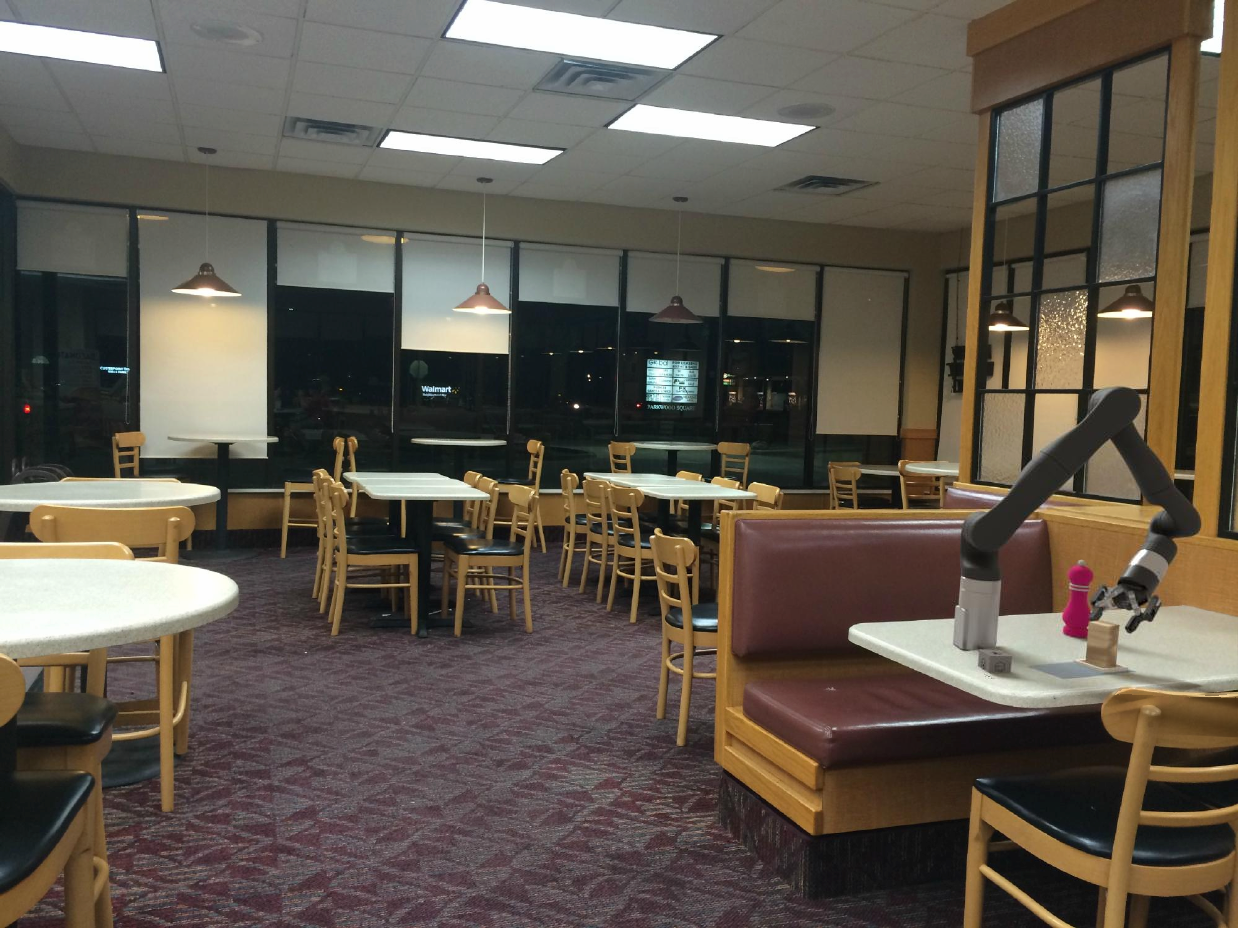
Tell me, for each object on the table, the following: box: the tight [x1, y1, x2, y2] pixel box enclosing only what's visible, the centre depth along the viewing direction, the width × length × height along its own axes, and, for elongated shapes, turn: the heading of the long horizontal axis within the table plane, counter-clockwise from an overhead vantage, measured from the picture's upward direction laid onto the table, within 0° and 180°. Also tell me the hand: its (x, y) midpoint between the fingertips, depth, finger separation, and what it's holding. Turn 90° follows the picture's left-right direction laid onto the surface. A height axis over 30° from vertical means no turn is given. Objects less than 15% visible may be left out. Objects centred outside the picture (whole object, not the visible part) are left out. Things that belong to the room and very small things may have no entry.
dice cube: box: [977, 649, 1013, 677], centre depth 210 cm, size 5×5×5 cm
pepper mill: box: [1061, 559, 1094, 638], centre depth 253 cm, size 7×7×20 cm
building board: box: [1027, 658, 1136, 680], centre depth 215 cm, size 22×10×2 cm, turn 114°
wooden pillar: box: [1085, 619, 1121, 668], centre depth 217 cm, size 4×4×10 cm
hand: (1109, 626), depth 217 cm, fingers open, 8 cm apart
